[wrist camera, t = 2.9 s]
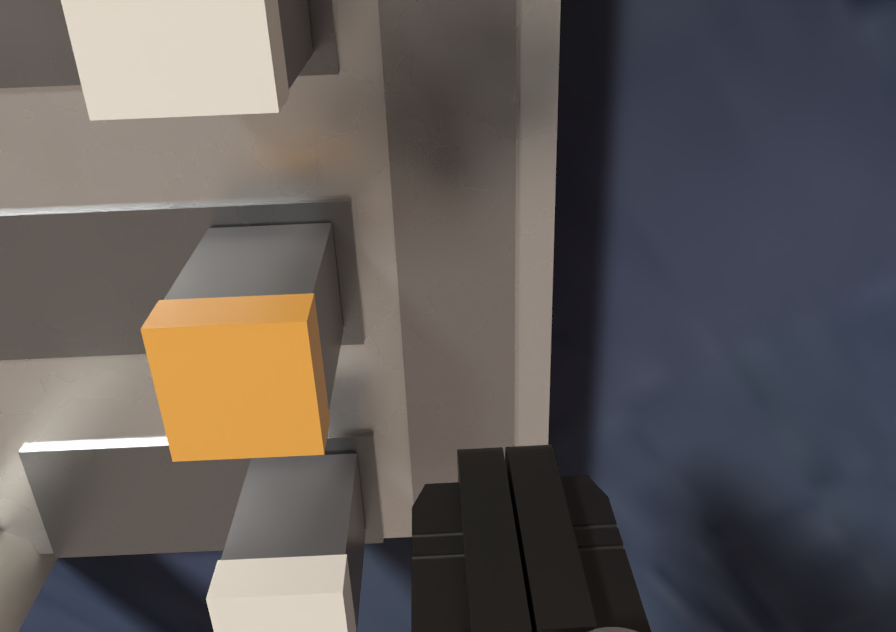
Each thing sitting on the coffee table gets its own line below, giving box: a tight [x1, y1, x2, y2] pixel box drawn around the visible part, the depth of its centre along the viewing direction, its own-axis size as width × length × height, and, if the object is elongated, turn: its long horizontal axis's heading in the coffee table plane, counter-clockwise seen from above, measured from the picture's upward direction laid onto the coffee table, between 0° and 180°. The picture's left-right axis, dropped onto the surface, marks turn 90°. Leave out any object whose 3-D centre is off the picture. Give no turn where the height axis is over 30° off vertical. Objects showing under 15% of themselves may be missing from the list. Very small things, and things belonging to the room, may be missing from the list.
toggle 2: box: [141, 223, 343, 462], centre depth 18 cm, size 3×3×5 cm
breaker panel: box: [0, 0, 561, 558], centre depth 22 cm, size 24×18×3 cm
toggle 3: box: [206, 454, 366, 632], centre depth 21 cm, size 3×3×5 cm
